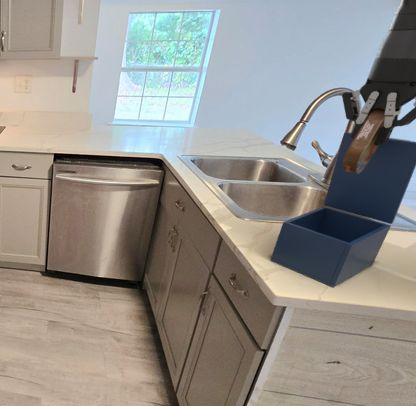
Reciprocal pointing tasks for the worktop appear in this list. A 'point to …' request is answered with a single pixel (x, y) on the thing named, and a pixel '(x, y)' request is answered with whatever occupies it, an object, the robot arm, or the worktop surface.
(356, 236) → the blue box
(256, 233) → the worktop surface
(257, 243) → the worktop surface
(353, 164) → the tin
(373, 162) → the box lid
